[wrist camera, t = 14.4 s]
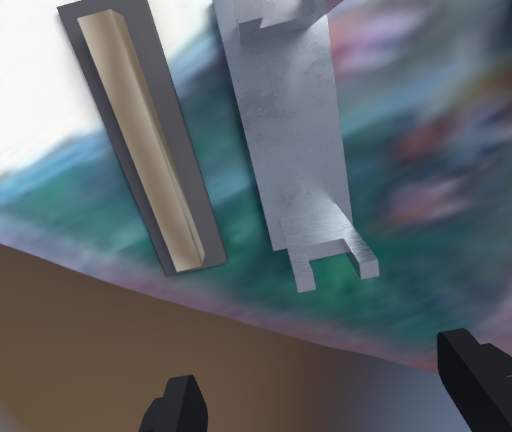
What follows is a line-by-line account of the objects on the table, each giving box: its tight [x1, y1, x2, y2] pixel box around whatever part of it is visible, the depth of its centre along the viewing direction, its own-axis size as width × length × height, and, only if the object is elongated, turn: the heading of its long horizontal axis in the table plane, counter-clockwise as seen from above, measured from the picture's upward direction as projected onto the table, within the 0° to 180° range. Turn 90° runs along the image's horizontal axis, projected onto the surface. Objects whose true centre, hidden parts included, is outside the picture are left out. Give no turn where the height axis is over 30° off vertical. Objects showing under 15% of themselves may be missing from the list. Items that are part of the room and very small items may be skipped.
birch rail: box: [77, 9, 205, 272], centre depth 33 cm, size 3×26×3 cm, turn 13°
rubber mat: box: [57, 0, 228, 276], centre depth 35 cm, size 8×30×1 cm, turn 13°
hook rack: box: [212, 0, 379, 293], centre depth 29 cm, size 10×27×14 cm, turn 13°
